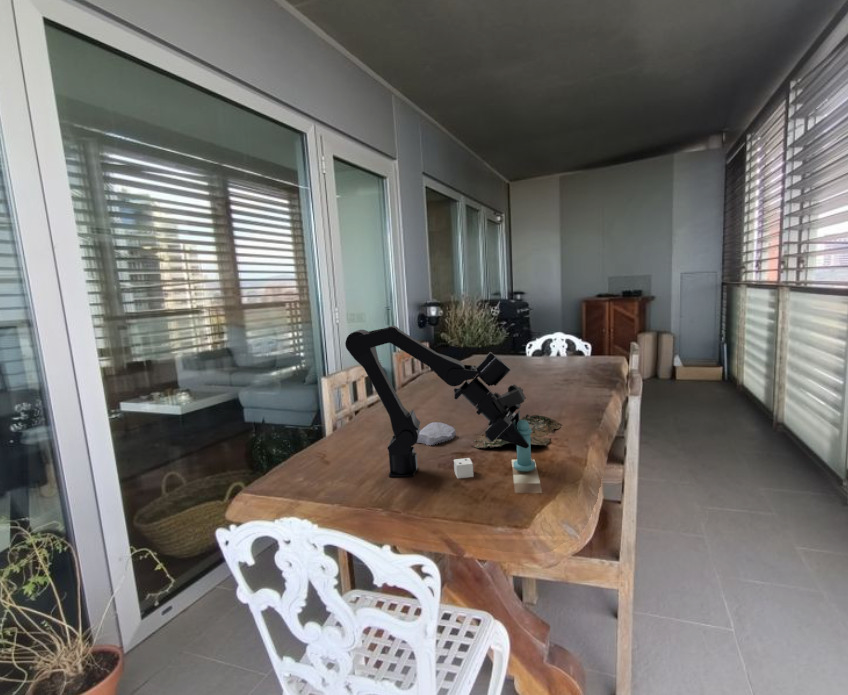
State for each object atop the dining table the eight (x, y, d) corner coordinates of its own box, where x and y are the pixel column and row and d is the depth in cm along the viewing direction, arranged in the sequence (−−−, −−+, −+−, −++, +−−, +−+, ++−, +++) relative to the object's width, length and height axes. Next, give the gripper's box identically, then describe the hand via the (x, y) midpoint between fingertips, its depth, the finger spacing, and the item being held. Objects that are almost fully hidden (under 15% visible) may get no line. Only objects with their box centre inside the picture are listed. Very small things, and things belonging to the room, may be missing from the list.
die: (457, 481, 114) (456, 465, 113) (454, 474, 118) (453, 459, 117) (473, 479, 114) (472, 463, 114) (470, 473, 118) (469, 457, 118)
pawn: (514, 471, 113) (512, 423, 112) (513, 463, 118) (511, 417, 117) (536, 471, 113) (534, 422, 111) (534, 463, 118) (532, 416, 116)
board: (514, 495, 104) (514, 492, 104) (511, 461, 124) (511, 459, 123) (542, 495, 103) (542, 492, 103) (534, 461, 123) (534, 459, 123)
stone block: (458, 441, 148) (433, 431, 154) (459, 428, 147) (434, 418, 152) (435, 455, 139) (410, 443, 145) (436, 440, 138) (411, 429, 143)
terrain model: (489, 420, 165) (489, 406, 164) (563, 427, 153) (563, 412, 153) (455, 449, 137) (454, 432, 137) (542, 461, 126) (542, 443, 125)
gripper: (496, 385, 105) (548, 435, 103) (511, 369, 123) (555, 412, 120) (464, 417, 109) (514, 466, 107) (483, 398, 126) (526, 439, 124)
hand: (529, 444), depth 114 cm, fingers closed on pawn, 4 cm apart
